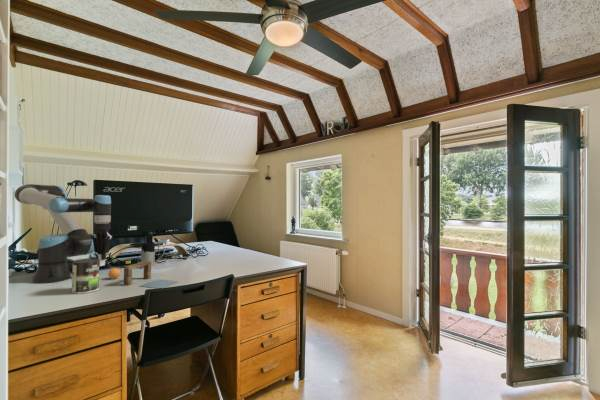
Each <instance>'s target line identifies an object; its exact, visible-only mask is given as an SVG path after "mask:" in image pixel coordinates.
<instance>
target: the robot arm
mask: <svg viewBox="0 0 600 400" xmlns="http://www.w3.org/2000/svg"><path fill="white" fill-rule="evenodd" d="M14 198H15V200H16V201H17V202H19V203H20V204H25V205H36V206H40V207H42V208H43V210H46V211H48V213H49V214H50V215H51V217H52V219H53V221H54V222H55V224H56V225H57V227H58V228H59V229H60V231H61V232H62V233H58V234H57V233H56V234H50V235H49V234H48V235H45V236H42V237H41V238H40V239H39V240H38V246H37V248H38V253H37V254H38V255H37V256H38V257H37V261H38V263H37V268H36V270H35V273H34V275H33V276H32V282H33V283H34V284H49V283H55V282H56V283H57V282H60V281H61V282H62V281H65V280H69V279H70V278H72V272H71V270H70V267H69V265H68V258H72V257H79V256H86V255H90V254H93V253H97V259H100V261H99V267H102V266H106V260H107V259H106V258H107V257H106V256H107V255H106V254H108V253H110V249H111V244H112V241H113V240H112V239H113V238H114V236H113V235H111V234H110V230H111V220H112V216H111V215H112V213H111V212H112V210H111V209H112V198H111V195H105V194H97V195H94V198H73V197H72V198H71V197H68V196H67V191H66V189H65V188H64V187H62V186H59V185H54V184H51V185H48V184H47V185H46V184H31V183H29V184H23V185H21V186H19V187H18V188H17V189H15V190H14ZM73 213H93V215H94V219H93V222H94V224H93V230H94V231H95V232H94V234H93V233H89V232H88V231H87V229H85V228H82V227H81V226H80V224H79V223H78V222H77V220H76V218H75V217H74V215H73Z"/></svg>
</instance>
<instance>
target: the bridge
mask: <svg viewBox="0 0 600 400" xmlns="http://www.w3.org/2000/svg"><path fill="white" fill-rule="evenodd" d="M140 266H144V269H143V280H149V279H151V278H152V268H151V262H150V261H145V262H141V261H140V262H138V263H133V264H129V265H126V266H123V286H131V285H132V282H133V281H132V280H133V269H136V268H140Z"/></svg>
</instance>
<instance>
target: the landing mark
mask: <svg viewBox="0 0 600 400" xmlns="http://www.w3.org/2000/svg"><path fill="white" fill-rule="evenodd" d="M177 283H179V281H177V280H169V279H159V278H157V279H155V280H152V281H150V282H146V283H144V284H140V285H139V287H142V288H143V287H144V288H151V289H157V288H162V289H164V288H167V287H169V286H172V285H174V284H177Z"/></svg>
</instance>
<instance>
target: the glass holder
mask: <svg viewBox="0 0 600 400" xmlns="http://www.w3.org/2000/svg"><path fill="white" fill-rule="evenodd" d="M161 246H162V247H163V248H164V251H163V253H162V255H161V256H160V257H158V259H156V257H155V256H156V253H157V252H159V248H160V247H161ZM155 247H156V243H155V242H145V243H141V250H140V253H141V254H140V263H141V262H145V261H150V262H151V269H153V268H156V265H155V264H156V263H157V262H158V261H159V260H160V259H162V257H164V255H165V252H166V247H165V246H164V245H163V244H160V245H159V246H158V247H157V250H155ZM155 260H156V261H155ZM139 269H143V270H144V266H140V267H139Z"/></svg>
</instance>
